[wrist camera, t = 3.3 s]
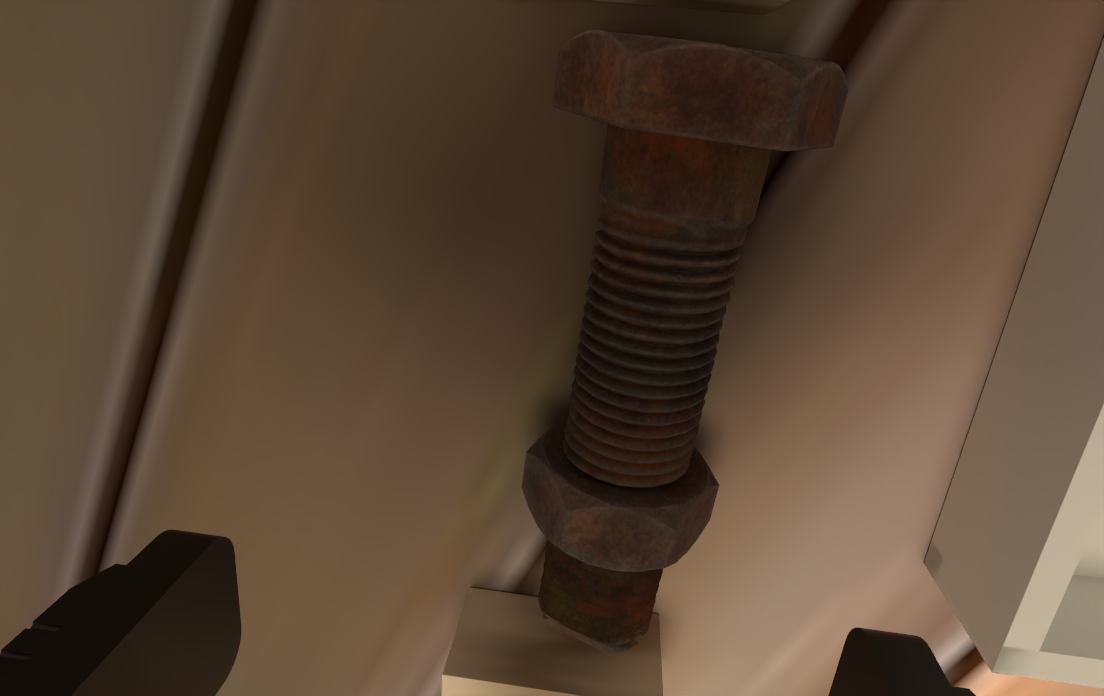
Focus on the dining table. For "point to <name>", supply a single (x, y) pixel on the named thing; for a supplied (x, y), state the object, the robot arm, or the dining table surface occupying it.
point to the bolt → (656, 305)
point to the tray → (1040, 447)
